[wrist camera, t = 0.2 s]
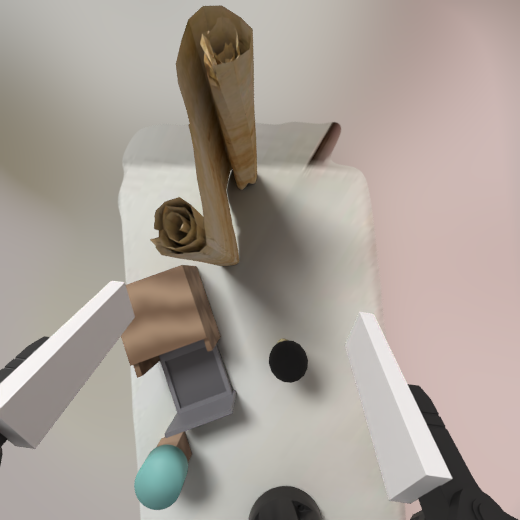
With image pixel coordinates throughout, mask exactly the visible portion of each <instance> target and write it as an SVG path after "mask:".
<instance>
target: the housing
mask: <svg viewBox="0 0 520 520" xmlns="http://www.w3.org/2000/svg"><path fill="white" fill-rule="evenodd" d="M126 288H127V292H128V295H129V299H130V302H131V305H132V309H133V312H134V316H135V318H134V319H133V320H132V322H131V323H130V324H129V326H128V327H127V328H126V330H125V331H124V332H123V334H122V335H121V338H122V341H123V344H124V347H125V350H126V353H127V356H128V359H129V363H130V366H131V365H134V368H135V372H136V375H137V378H138V377H140V376H143V375H144V374H145V373H146V372H147V371H148V370H149V369H151V368H152V367H153V366H154V365H155V364H156V363H158V362H159V361H160V358H159V355H161V354H164V353H167V352H169V351H172V350H175V349H178V348H180V347H183V346H186V345H189V344H191V343H194V342H197V341H200V340H202V339H204V342H205V345H206V348H207V351H208V352H209V351H211V350H213V348H214V347H215V345H216V344H217V342H218V340H219V339H220V337H221V336H220V333H219V330H218V327H217V325H216V322H215V319H214V316H213V313H212V310H211V307H210V304H209V301H208V298H207V296H206V293H205V290H204V287H203V284H202V281H201V278H200V275H199V272H198V269H197V267H196V266H187V265H181V266H178V267H175V268H172V269H170V270H167V271H164V272H161V273H158V274H156V275H153V276H150V277H147V278H144V279H142V280H139V281H136V282H133V283H130V284H128V285H126Z"/></svg>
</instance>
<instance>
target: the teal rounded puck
mask: <svg viewBox="0 0 520 520" xmlns="http://www.w3.org/2000/svg"><path fill="white" fill-rule="evenodd" d="M187 472H188V461H187V458H186V456H185V454H184V453H183V451H182V450H181V449H179V448H178V447H176V446H174V445H168V444H167V445H161V446H158V447H156V448H155V449H154V450H152V451H151V452H150V454H149V455H148V457H147V459H146V460H145V462H144V463H143V465H142V467H141V468H140V470H139V472H138V473H137V476H136V479H135V486H134V487H135V493H136V495H137V498H138V499H139V501H140V502H141V503H142V504H143V505H144V506H146V507H147V508H150V509H153V510H161V509H165V508H167V507H169V506H171V505H172V504H173V503H174V502H175V501H176V500H177V498H178V496H179V494H180V492H181V489H182V486H183V483H184V481H185V478H186V475H187Z"/></svg>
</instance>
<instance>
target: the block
mask: <svg viewBox="0 0 520 520" xmlns="http://www.w3.org/2000/svg"><path fill="white" fill-rule="evenodd" d="M167 444H168V445H174V446H176V447H178V448H179V449H181V450H182V451H183V453H184V454H185V456H186V458H187V461H188V463H189V460H190V457H191V455H192V452H191V449H190V446H189V443H188V440H187V437H186V434H185V431H184V432H181V433H179V434H176V435H173V436H171V437H168V438H166V437H164V438H162V439H161V440H160V442H159V444H158V445H157V447H158V446H161V445H167Z"/></svg>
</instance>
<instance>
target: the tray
mask: <svg viewBox="0 0 520 520" xmlns="http://www.w3.org/2000/svg"><path fill="white" fill-rule="evenodd" d="M159 358H160V361H161V364H162V367H163V370H164V373H165V376H166V379H167V382H168V385H169V389H170V392H171V395H172V398H173V401H174V404H175V407H176V410H177V414H176V416H175V417H174V419H173V421H172V422H171V424H170V426H169V427H168V429H167V431H166V432H165V437H166V438H168V437H171V436H173V435H176V434H179V433H181V432H184V431H187V430H189V429H192V428H195V427H198V426H200V425H203V424H206V423H208V422H211V421H214V420H216V419H219V418H222V417H224V416H227V415H230V414H232V413H233V408H234V403H235V398H236V392H235V390H234V391H233V390H232V387H231V384H230V382H229V379H228V376H227V373H226V370H225V367H224V364H223V361H222V358H221V355H220V352H219V349H218V347H217V344H216V345H215V347H214V348H213V350H211V351H209V352H208V351H207V348H206V345H205V342H204V339H202V340H200V341H197V342H194V343H191V344H189V345H186V346H183V347H180V348H178V349H175V350H172V351H169V352H167V353H164V354H161V355H159Z"/></svg>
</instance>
